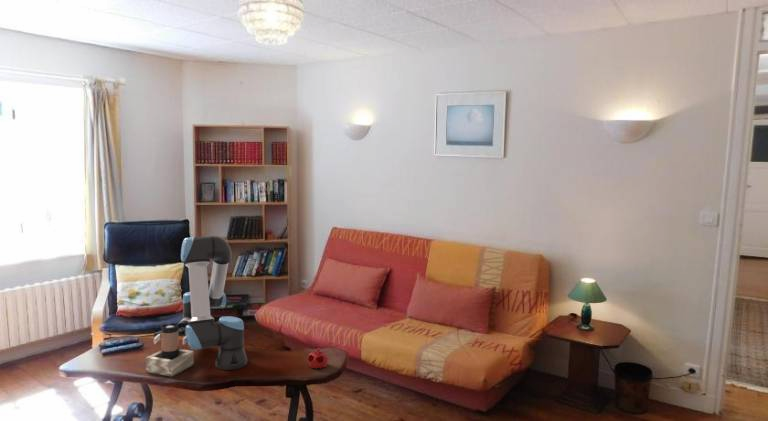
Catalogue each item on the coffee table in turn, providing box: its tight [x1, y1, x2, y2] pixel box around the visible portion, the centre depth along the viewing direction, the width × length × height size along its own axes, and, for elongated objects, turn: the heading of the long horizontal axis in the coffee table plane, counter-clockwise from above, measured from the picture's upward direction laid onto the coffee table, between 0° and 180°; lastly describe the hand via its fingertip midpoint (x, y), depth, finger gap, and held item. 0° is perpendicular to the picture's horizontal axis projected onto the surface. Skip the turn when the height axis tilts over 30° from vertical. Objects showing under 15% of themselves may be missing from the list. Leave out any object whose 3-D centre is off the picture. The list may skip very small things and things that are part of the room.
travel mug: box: [160, 323, 180, 360], centre depth 243 cm, size 8×8×20 cm
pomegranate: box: [307, 347, 329, 369], centre depth 251 cm, size 10×10×9 cm
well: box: [145, 348, 195, 377], centre depth 244 cm, size 15×15×7 cm
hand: (168, 341), depth 242 cm, fingers open, 13 cm apart
